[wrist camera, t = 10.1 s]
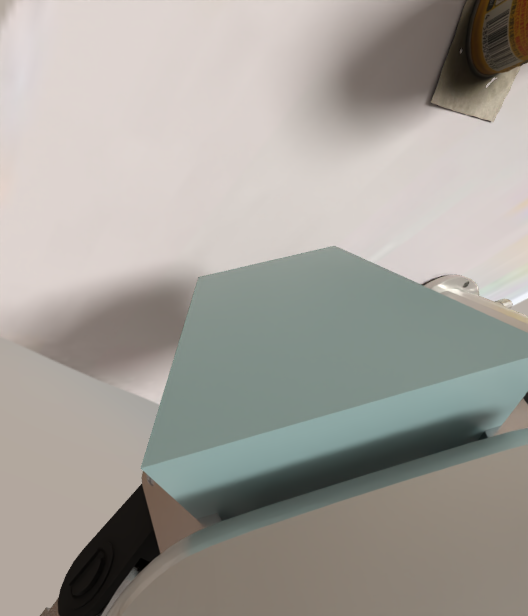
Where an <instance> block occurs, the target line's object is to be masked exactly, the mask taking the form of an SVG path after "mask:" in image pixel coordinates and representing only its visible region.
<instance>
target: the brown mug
mask: <svg viewBox="0 0 528 616" xmlns="http://www.w3.org/2000/svg"><path fill="white" fill-rule="evenodd" d="M461 48H462V50H463V51H462V53H461V54H460V49H461ZM527 62H528V0H467V1H466V3H465V5H464V8H463V11H462V15H461V18H460V21H459V23H458V26H457V31H456V34H455V37H454V40H453V42H452V44H451V47H450V49H449V52H448V55H447V58H446V60H445V63H444V65H443V68H442V71H441V74H440V78H439V82H438V85H437V88H436V90H435V93H434V95H433V98H432V101H431V103H433V104H437V105H438V106H441V107H444V108H447V109H451V110H453V111H457V112H460V113H464V114H466V115H470V116H475V117H478V118H481V119H485V120H489V121H492V122H494V120H495V118H496V115H497V114H498V112H499V110H500V108H501V106H502V104H503V101H504V99H505V97H506V95H507V94H508V92H509V90H510V88H511V85H512V83H513V81H514V79H515V77H516V75H517V74H518V72H519V69H520V66H522V65H523V64H525V63H527ZM494 77H495V78H496V77H497V79H495V80H494V81H493V82H492V83H491V84H490V85H489V86H488V87H487V88H486V85H487V84H488V83H489V82H490V81H491V80H492V79H493V78H494Z"/></svg>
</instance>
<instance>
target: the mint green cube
mask: <svg viewBox="0 0 528 616" xmlns="http://www.w3.org/2000/svg"><path fill="white" fill-rule="evenodd" d="M527 392H528V333H527V332H525V331H522V330H520V329H518V328H516V327H514V326H511V325H509V324H507V323H505V322H503V321H500V320H498V319H496V318H494V317H491V316H489V315H487V314H485V313H483V312H480V311H478V310H476V309H474V308H471V307H469V306H467V305H465V304H463V303H460V302H458V301H456V300H454V299H451V298H449V297H447V296H445V295H443V294H440V293H438V292H436V291H434V290H432V289H429V288H427V287H425V286H423V285H420V284H418V283H416V282H414V281H412V280H409V279H407V278H405V277H403V276H400V275H398V274H396V273H394V272H392V271H389V270H387V269H385V268H383V267H380V266H378V265H376V264H374V263H372V262H369V261H367V260H365V259H363V258H361V257H358V256H356V255H354V254H352V253H349V252H347V251H345V250H343V249H341V248H338V247H336V246H332V247H327V248H323V249H319V250H314V251H310V252H306V253H301V254H297V255H293V256H288V257H284V258H280V259H275V260H271V261H267V262H262V263H258V264H254V265H249V266H245V267H241V268H236V269H232V270H228V271H224V272H219V273H215V274H211V275H206V276H202V277H198V281H197V284H196V287H195V291H194V294H193V297H192V300H191V304H190V307H189V310H188V314H187V317H186V320H185V324H184V327H183V330H182V333H181V337H180V340H179V343H178V347H177V350H176V353H175V357H174V360H173V363H172V366H171V370H170V373H169V376H168V380H167V383H166V386H165V390H164V393H163V396H162V400H161V403H160V406H159V409H158V413H157V416H156V419H155V423H154V426H153V430H152V433H151V436H150V440H149V442H148V446H147V449H146V452H145V456H144V459H143V463H142V466H141V469H142V470H143V471H144V472H145V473H146V474H147V475H148V476H150V477H151V478H152V479H153V480H154V481H155V482H156V483H157V484H158V485H159V486H161V487H162V488H163V489H164V490H165V491H166V492H167V493H168V494H169V495H170V496H172V497H173V498H174V499H175V500H176V501H177V502H178V503H179V504H180V505H181V506H182V507H184V508H185V509H186V510H187V511H188V512H189V513H190V514H191V515H192V516H193V517H195V518H196V519H198V518H201V517H205V516H208V515H211V514H214V513H218V514H219V515H220V517H221V518H222V519H223V520H227V519H230V518H233V517H236V516H239V515H242V514H245V513H248V512H250V511H253V510H256V509H259V508H262V507H265V506H268V505H271V504H275V503H278V502H281V501H284V500H287V499H290V498H294V497H297V496H300V495H303V494H306V493H309V492H313V491H316V490H319V489H322V488H325V487H328V486H332V485H335V484H338V483H341V482H344V481H348V480H351V479H354V478H357V477H361V476H364V475H367V474H370V473H373V472H377V471H380V470H383V469H386V468H390V467H393V466H396V465H399V464H403V463H406V462H409V461H412V460H416V459H419V458H422V457H425V456H429V455H432V454H435V453H439V452H442V451H445V450H448V449H452V448H455V447H458V446H462V445H465V444H468V443H472V442H475V441H478V439H479V438H480V436H481V435H482V434H483V432H484V431H485V430H488V429H491V428H494V427H497V426H501V425H502V424H503V423H504V422H505V420H506V419H507V418H508V417H509V415H510V414H511V413H512V411H513V410H514V409H515V407H516V406H517V405H518V403H519V402H520V401H521V400H522V398H523V397H524V396H525V394H526V393H527Z"/></svg>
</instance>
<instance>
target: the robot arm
mask: <svg viewBox="0 0 528 616" xmlns="http://www.w3.org/2000/svg"><path fill="white" fill-rule="evenodd" d="M424 286H425V287H427V288H429V289H432V290H434V291H436V292H438V293H440V294H443V295H445V296H447V297H449V298H451V299H454V300H456V301H458V302H460V303H463V304H465V305H467V306H469V307H471V308H474V309H476V310H478V311H480V312H483V313H485V314H487V315H489V316H491V317H494V318H496V319H498V320H500V321H503V322H505V323H507V324H509V325H511V326H514V327H516V328H518V329H520V330H522V331H525V332H527V333H528V316H527V315H524V314H521V313H519V312H516V311H514V310H511V309H509V308H511V307H512V305H513V303H512V302H511V301H510V300H508V299H502V300H498V301H495V302H494V301H491V300H489V299H486V298H484V297H481V296H479V289H478V286H477V284H476V283H475V282H474V281H473V280H472V279H469V278H467V277H464V276H460V275H447V276H443V277H440V278H437V279H435V280H433V281H431V282H429V283H427V284H426V285H424ZM40 616H528V392H527V393H526V394H525V396H524V397H523V398H522V400H521V401H520V402H519V403H518V405H517V406H516V407H515V409H514V410H513V411H512V413H511V414H510V415H509V417H508V418H507V419H506V420H505V422H504V423H503V424H502V425H501V426H497V427H494V428H491V429H488V430H485V431H484V432H483V434H482V435H481V436H480V438H479V439H478V441H475V442H472V443H468V444H465V445H462V446H458V447H455V448H452V449H448V450H445V451H442V452H439V453H435V454H432V455H429V456H425V457H422V458H419V459H416V460H412V461H409V462H406V463H403V464H399V465H396V466H393V467H390V468H386V469H383V470H380V471H377V472H373V473H370V474H367V475H364V476H361V477H357V478H354V479H351V480H348V481H344V482H341V483H338V484H335V485H332V486H328V487H325V488H322V489H319V490H316V491H313V492H309V493H306V494H303V495H300V496H297V497H294V498H290V499H287V500H284V501H281V502H278V503H275V504H271V505H268V506H265V507H262V508H259V509H256V510H253V511H250V512H248V513H245V514H242V515H239V516H236V517H233V518H230V519H227V520H223V519H222V518H221V517H220V515H219V514H218V513H214V514H211V515H208V516H205V517H201V518H198V519H196V518H195V517H193V516H192V515H191V514H190V513H189V512H188V511H187V510H186V509H185V508H184V507H182V506H181V505H180V504H179V503H178V502H177V501H176V500H175V499H174V498H173V497H172V496H170V495H169V494H168V493H167V492H166V491H165V490H164V489H163V488H162V487H161V486H159V485H158V484H157V483H156V482H155V481H154V480H153V479H152V478H151V477H150V476H148V475H147V474H146V473H145V472H144V471H143V474H142V484H141V485H140V486H139V487H138V489H137V490H136V491H135V492H134V493H133V494H132V495H131V497H130V498H129V499H128V500H127V501H126V502H125V503H124V504H123V505H122V507H121V508H120V509H119V510H118V511H117V512H116V513H115V514H114V516H113V517H112V518H111V519H110V520H109V521H108V522H107V523H106V524H105V526H104V527H103V528H102V529H101V530H100V531H99V532H98V533H97V535H96V536H95V537H94V538H93V539H92V540H91V541H90V542H89V544H88V545H87V546H86V547H85V548H84V549H83V550H82V552H81V553H80V554H79V556H78V557H77V558H76V560H75V561H74V562H73V564H72V566H71V567H70V569H69V571H68V573H67V574H66V577H65V579H64V582H63V584H62V587H61V589H60V594H59V598H58V599H57V600H56V602H55V603H54V604H53V606H52V607H51V608H45V610H44V611H43V613H42V614H41V615H40Z"/></svg>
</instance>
